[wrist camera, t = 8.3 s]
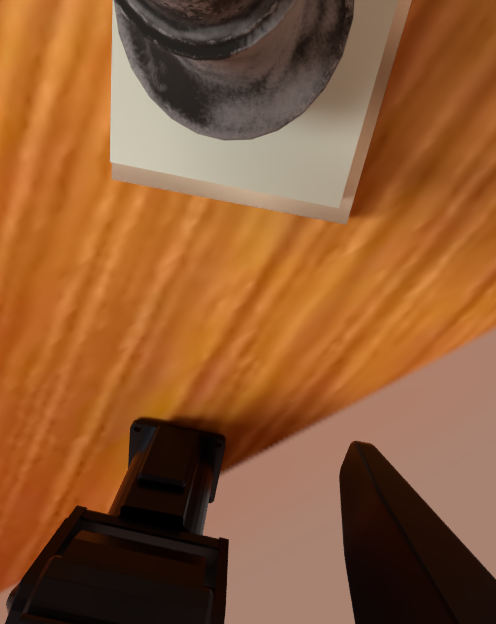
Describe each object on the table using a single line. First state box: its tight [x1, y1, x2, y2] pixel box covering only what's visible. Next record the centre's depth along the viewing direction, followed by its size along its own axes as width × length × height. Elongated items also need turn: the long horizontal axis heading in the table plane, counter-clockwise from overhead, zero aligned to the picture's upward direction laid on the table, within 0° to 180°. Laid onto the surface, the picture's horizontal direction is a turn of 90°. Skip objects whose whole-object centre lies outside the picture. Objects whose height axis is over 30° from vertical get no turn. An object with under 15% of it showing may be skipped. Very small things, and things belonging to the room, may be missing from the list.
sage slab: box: [110, 0, 398, 208], centre depth 13 cm, size 9×9×2 cm
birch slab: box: [112, 0, 412, 225], centre depth 15 cm, size 11×11×2 cm
